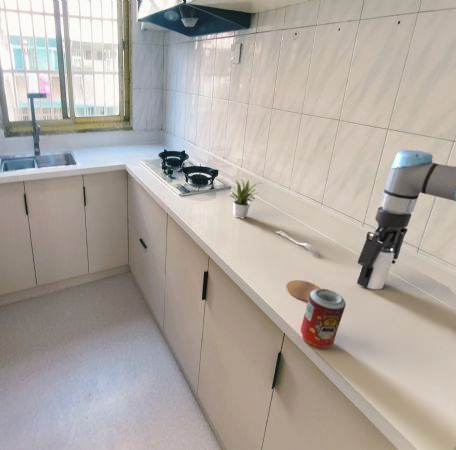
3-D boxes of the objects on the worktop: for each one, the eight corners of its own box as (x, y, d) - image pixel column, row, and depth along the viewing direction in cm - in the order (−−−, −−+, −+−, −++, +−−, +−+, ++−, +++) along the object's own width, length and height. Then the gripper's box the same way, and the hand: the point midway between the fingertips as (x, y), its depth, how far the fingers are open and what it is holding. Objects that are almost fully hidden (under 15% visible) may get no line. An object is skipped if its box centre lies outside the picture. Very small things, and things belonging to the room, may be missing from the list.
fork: (279, 237, 132) (280, 230, 132) (320, 256, 114) (321, 249, 113) (273, 237, 132) (274, 231, 131) (313, 257, 113) (314, 250, 112)
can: (354, 276, 103) (365, 241, 98) (377, 279, 102) (390, 244, 97) (361, 288, 97) (373, 251, 92) (386, 291, 96) (400, 254, 91)
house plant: (266, 217, 145) (272, 180, 138) (249, 226, 135) (256, 187, 129) (236, 208, 154) (241, 173, 147) (219, 216, 144) (224, 179, 138)
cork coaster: (323, 286, 97) (323, 285, 97) (325, 305, 89) (325, 304, 89) (286, 278, 101) (286, 277, 100) (285, 296, 92) (285, 295, 92)
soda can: (310, 353, 73) (323, 306, 68) (293, 330, 80) (304, 287, 75) (339, 350, 74) (354, 304, 69) (320, 328, 81) (333, 285, 76)
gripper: (404, 201, 97) (379, 270, 106) (357, 209, 89) (335, 282, 99) (432, 210, 90) (404, 282, 100) (384, 219, 83) (358, 297, 92)
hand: (370, 282), depth 99 cm, fingers closed on can, 6 cm apart
